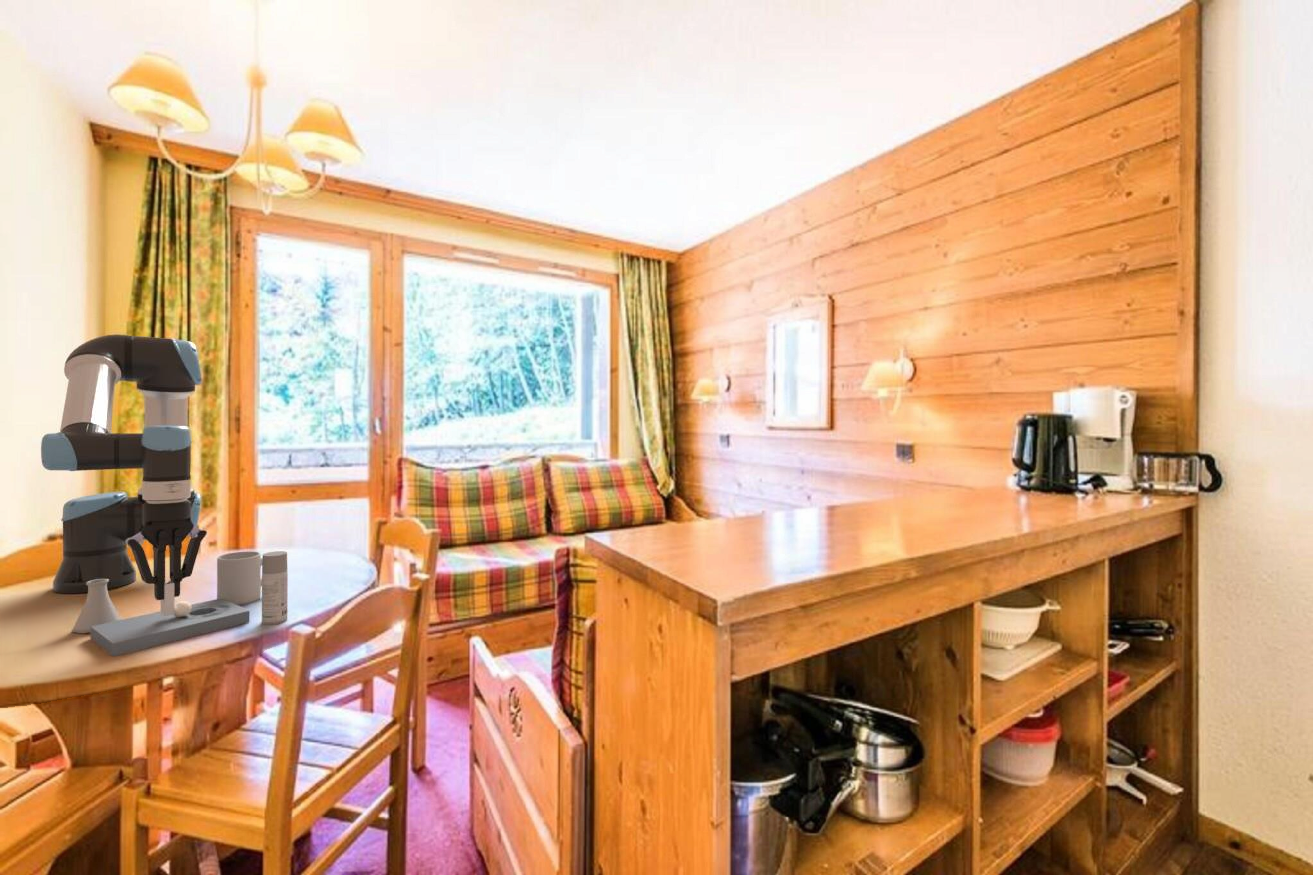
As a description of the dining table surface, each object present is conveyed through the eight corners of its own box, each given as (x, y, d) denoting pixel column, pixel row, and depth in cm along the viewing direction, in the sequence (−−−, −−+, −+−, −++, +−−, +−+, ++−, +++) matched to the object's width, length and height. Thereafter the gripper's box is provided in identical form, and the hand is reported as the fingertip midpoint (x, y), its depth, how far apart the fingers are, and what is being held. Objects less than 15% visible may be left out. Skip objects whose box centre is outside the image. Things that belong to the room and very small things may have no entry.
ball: (192, 605, 121) (178, 618, 119) (179, 596, 119) (165, 609, 117) (197, 608, 119) (183, 621, 117) (185, 599, 117) (170, 612, 115)
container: (280, 615, 127) (281, 549, 126) (291, 619, 124) (291, 553, 124) (257, 621, 123) (257, 554, 122) (268, 626, 120) (268, 557, 120)
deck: (90, 638, 111) (90, 626, 111) (222, 608, 130) (222, 597, 130) (112, 656, 104) (112, 643, 104) (249, 621, 122) (249, 610, 122)
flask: (95, 621, 120) (94, 575, 120) (131, 621, 121) (131, 575, 121) (62, 634, 113) (61, 585, 113) (101, 634, 114) (100, 586, 113)
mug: (220, 608, 130) (220, 561, 130) (213, 599, 136) (213, 554, 135) (281, 597, 139) (281, 553, 138) (272, 589, 145) (272, 547, 144)
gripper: (130, 506, 108) (131, 627, 108) (212, 499, 118) (212, 608, 119) (118, 502, 112) (119, 618, 112) (199, 495, 123) (199, 601, 123)
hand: (167, 613), depth 116 cm, fingers closed
